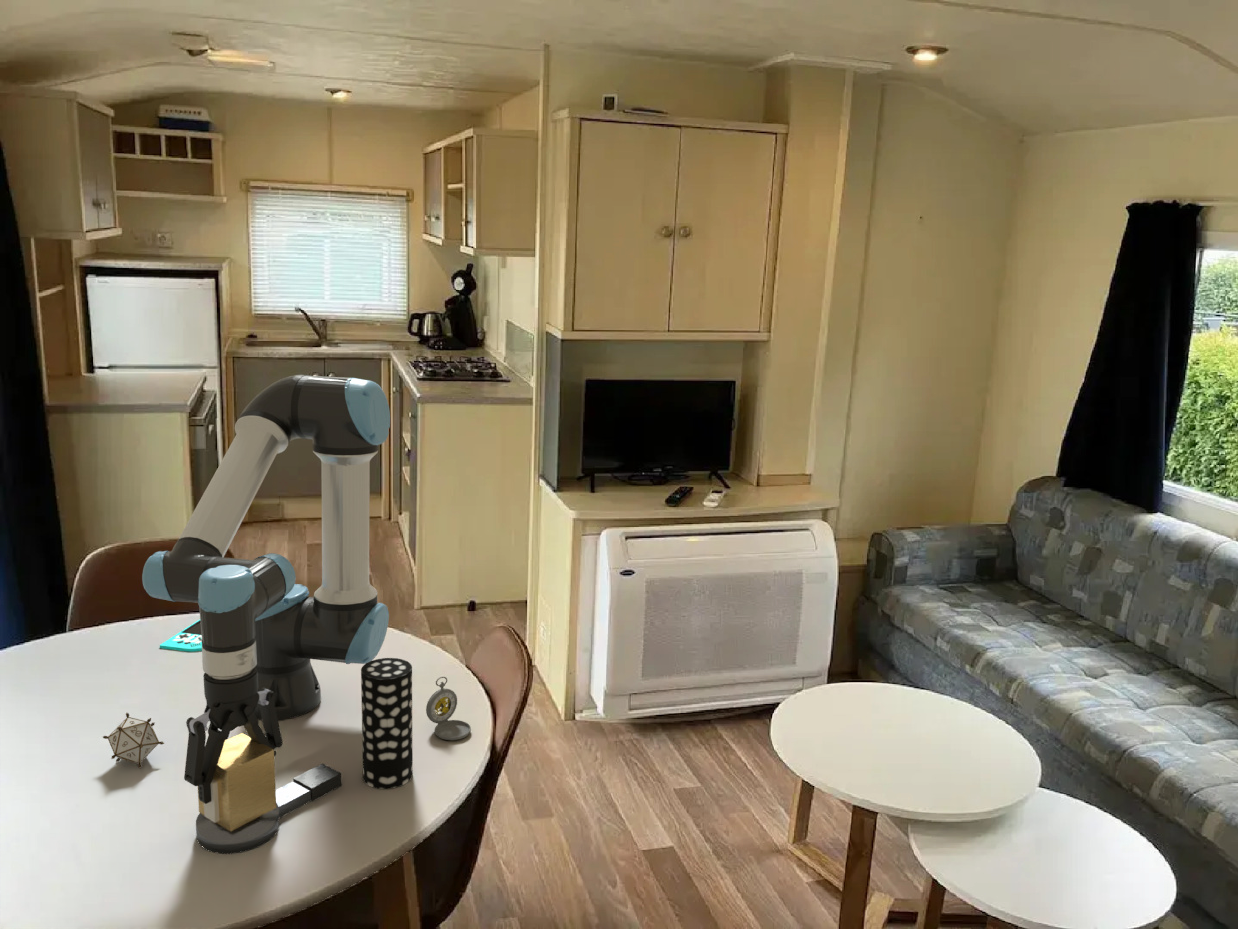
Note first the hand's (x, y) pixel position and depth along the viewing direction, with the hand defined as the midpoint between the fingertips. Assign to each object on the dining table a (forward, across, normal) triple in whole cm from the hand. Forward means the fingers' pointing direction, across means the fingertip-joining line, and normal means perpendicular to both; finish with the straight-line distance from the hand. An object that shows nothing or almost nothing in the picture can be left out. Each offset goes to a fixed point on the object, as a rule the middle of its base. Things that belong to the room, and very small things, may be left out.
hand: (237, 805), depth 153 cm
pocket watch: (+5, +43, -3) cm, 43 cm away
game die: (+4, +1, +31) cm, 31 cm away
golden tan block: (+1, 0, 0) cm, 1 cm away
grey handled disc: (+4, +6, 0) cm, 7 cm away
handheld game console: (+5, +38, +70) cm, 80 cm away
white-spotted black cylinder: (+4, +25, -6) cm, 26 cm away
